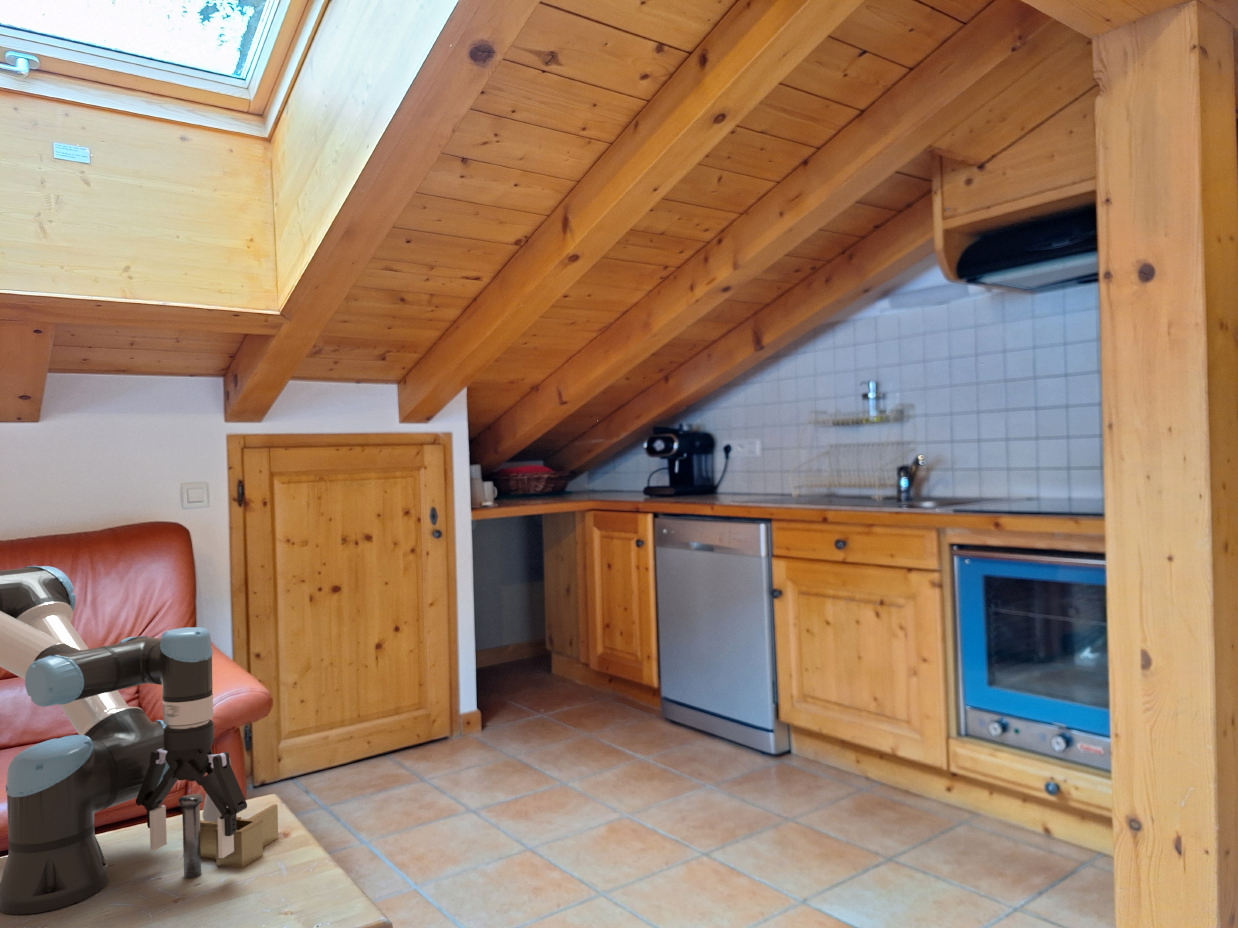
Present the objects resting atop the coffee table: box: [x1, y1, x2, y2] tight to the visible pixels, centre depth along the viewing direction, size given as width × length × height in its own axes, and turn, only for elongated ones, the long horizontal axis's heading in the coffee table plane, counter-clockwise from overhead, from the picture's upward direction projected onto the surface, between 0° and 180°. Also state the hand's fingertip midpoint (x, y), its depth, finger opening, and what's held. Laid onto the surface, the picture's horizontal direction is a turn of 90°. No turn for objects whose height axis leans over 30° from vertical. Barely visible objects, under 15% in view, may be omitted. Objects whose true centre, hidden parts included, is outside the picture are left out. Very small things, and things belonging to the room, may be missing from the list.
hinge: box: [200, 803, 279, 869], centre depth 156 cm, size 12×12×6 cm
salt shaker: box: [202, 756, 232, 822], centre depth 167 cm, size 6×6×13 cm
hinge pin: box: [178, 793, 204, 879], centre depth 146 cm, size 4×4×13 cm
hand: (192, 850), depth 146 cm, fingers open, 13 cm apart
